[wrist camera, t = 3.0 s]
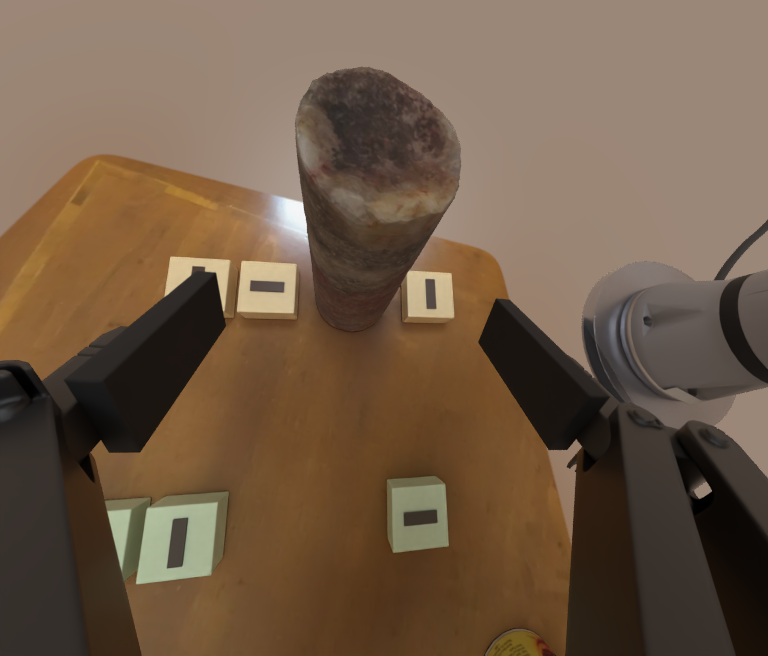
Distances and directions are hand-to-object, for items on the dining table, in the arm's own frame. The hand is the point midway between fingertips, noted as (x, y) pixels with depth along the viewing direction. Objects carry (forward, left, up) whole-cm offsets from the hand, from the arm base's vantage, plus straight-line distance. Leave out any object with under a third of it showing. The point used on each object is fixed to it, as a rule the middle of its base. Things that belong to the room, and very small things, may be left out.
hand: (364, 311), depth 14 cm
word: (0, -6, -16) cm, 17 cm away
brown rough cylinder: (-3, -5, -16) cm, 17 cm away
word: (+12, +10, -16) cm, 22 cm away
